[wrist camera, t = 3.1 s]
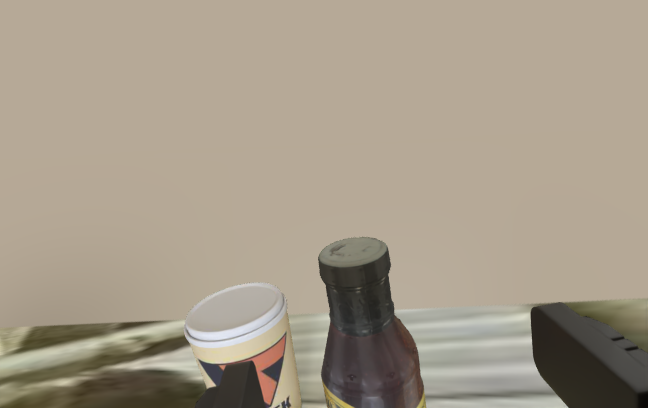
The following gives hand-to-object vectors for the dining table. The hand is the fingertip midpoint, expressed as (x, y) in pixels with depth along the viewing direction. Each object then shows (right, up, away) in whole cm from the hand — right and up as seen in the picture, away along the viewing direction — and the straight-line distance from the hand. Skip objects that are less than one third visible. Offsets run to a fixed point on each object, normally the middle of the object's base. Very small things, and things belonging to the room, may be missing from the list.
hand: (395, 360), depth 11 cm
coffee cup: (-8, -16, +28) cm, 33 cm away
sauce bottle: (+3, -17, +17) cm, 24 cm away
